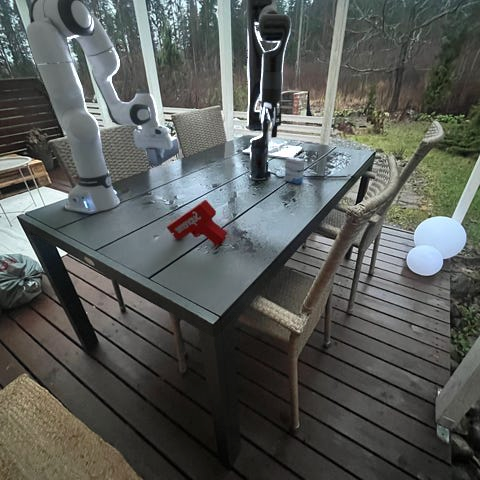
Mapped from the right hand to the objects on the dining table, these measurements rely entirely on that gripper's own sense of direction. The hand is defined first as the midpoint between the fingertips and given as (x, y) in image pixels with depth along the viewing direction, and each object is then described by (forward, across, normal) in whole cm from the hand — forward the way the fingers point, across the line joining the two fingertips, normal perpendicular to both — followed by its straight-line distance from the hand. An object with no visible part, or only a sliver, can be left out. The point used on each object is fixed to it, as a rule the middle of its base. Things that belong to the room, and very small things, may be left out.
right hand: (269, 135), depth 105 cm
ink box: (+29, -20, +25) cm, 43 cm away
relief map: (+29, -79, +40) cm, 93 cm away
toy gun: (+29, +20, -34) cm, 49 cm away
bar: (+21, -57, -37) cm, 71 cm away
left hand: (+18, -50, -42) cm, 68 cm away
